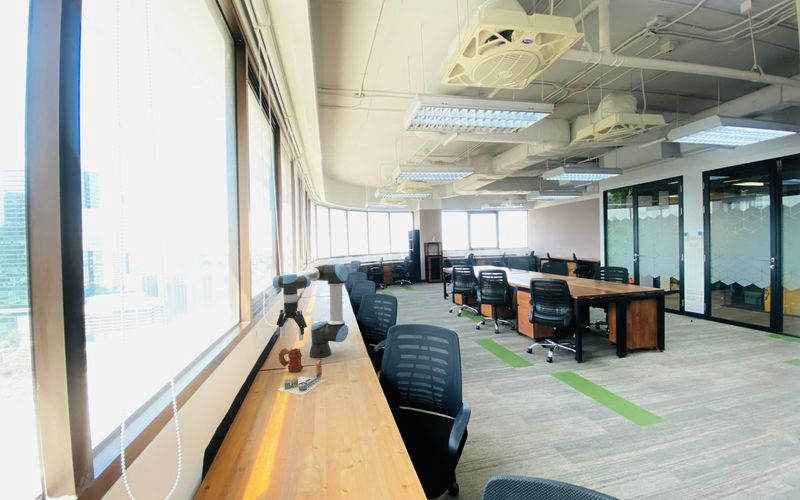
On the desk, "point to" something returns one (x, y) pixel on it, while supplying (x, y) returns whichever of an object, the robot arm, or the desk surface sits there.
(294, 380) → the tan short cylinder
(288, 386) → the grey rectangular block
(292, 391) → the bench board
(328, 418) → the desk surface
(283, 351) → the mug
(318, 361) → the lever
